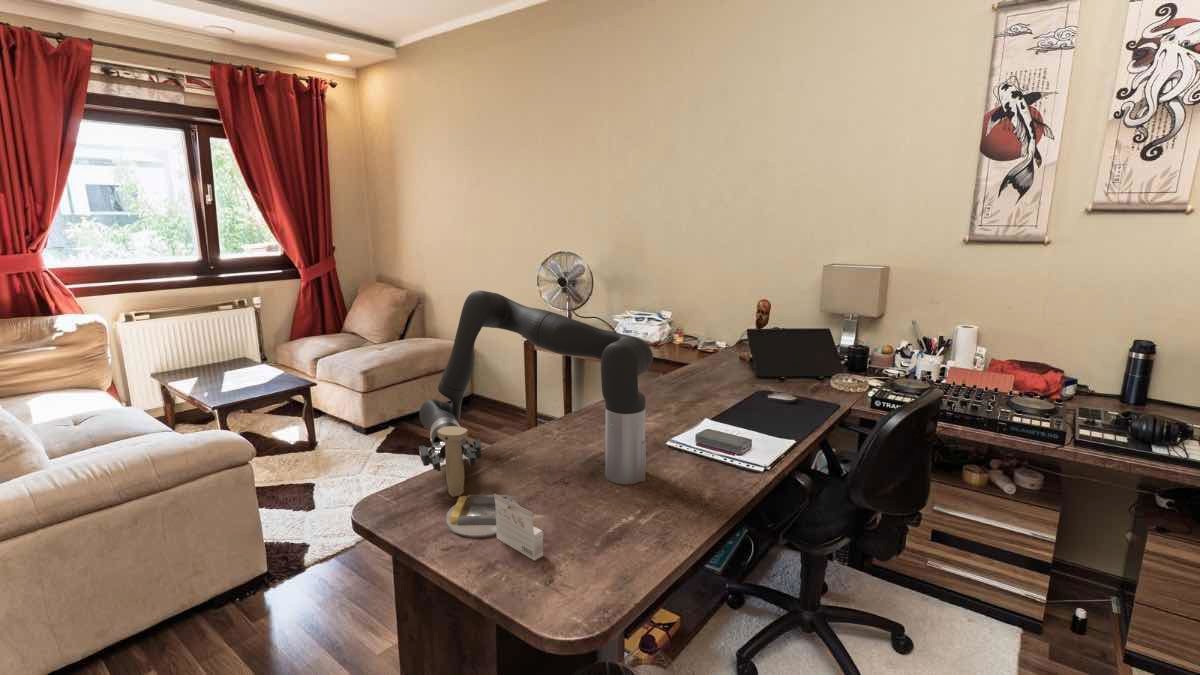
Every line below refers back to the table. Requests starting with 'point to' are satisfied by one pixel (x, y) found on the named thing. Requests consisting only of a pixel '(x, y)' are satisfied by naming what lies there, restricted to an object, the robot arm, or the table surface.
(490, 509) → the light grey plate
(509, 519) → the ink cartridge box
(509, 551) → the table surface
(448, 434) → the handle
